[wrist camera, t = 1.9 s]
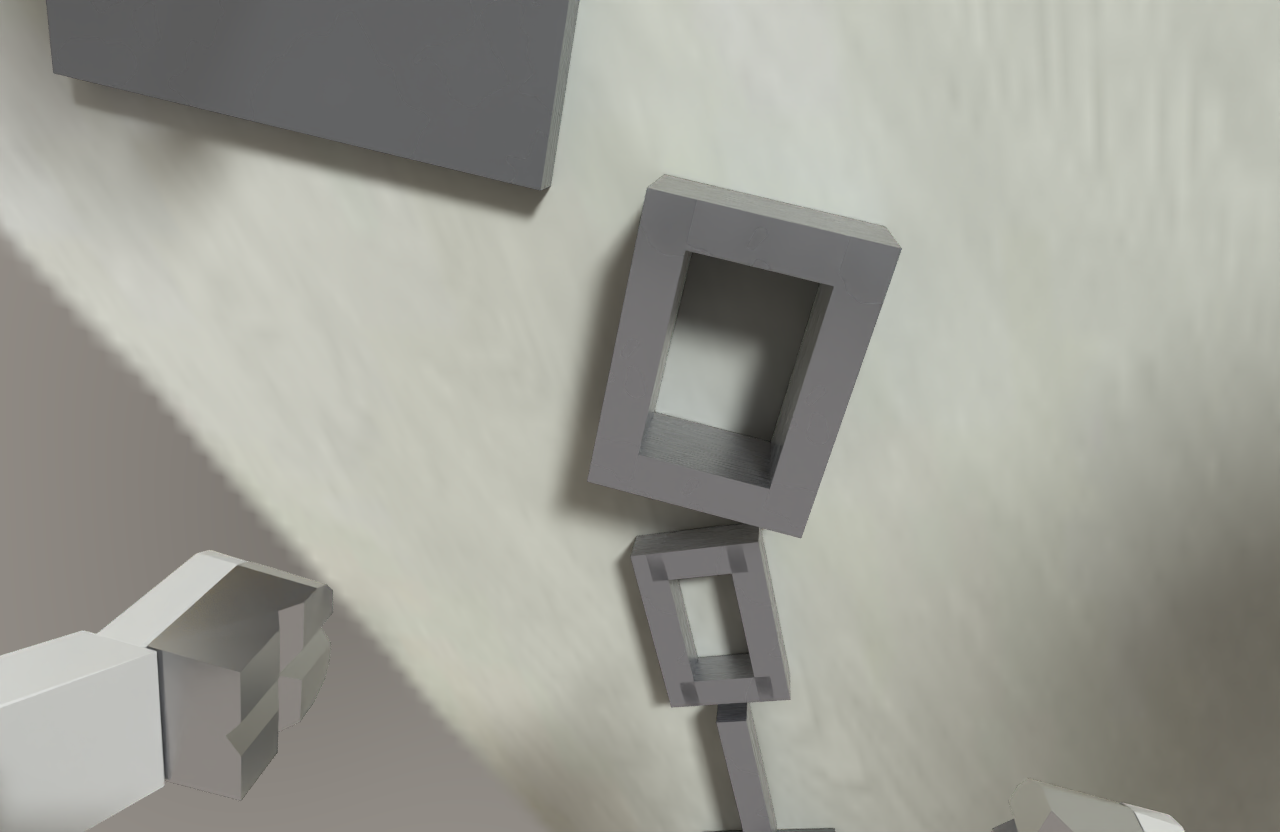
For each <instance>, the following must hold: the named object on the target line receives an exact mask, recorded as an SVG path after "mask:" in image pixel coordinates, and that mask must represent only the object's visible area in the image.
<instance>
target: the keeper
mask: <svg viewBox="0 0 1280 832" xmlns="http://www.w3.org/2000/svg"><path fill="white" fill-rule="evenodd" d="M46 4H47V14H48V24H49V34H50V44H51V54H52V64H53V73H55V74H59V75H63V76H68V77H72V78H76V79H80V80H84V81H88V82H92V83H97V84H101V85H105V86H109V87H113V88H117V89H122V90H126V91H130V92H134V93H138V94H142V95H146V96H151V97H155V98H159V99H163V100H167V101H171V102H175V103H180V104H184V105H188V106H192V107H196V108H200V109H204V110H209V111H213V112H217V113H221V114H225V115H229V116H233V117H238V118H242V119H246V120H250V121H254V122H258V123H262V124H267V125H271V126H275V127H279V128H283V129H287V130H292V131H296V132H300V133H304V134H308V135H312V136H316V137H321V138H325V139H329V140H333V141H337V142H341V143H345V144H350V145H354V146H358V147H362V148H366V149H370V150H374V151H379V152H383V153H387V154H391V155H395V156H399V157H403V158H408V159H412V160H416V161H420V162H424V163H428V164H432V165H437V166H441V167H445V168H449V169H453V170H457V171H462V172H466V173H470V174H474V175H478V176H482V177H486V178H491V179H495V180H499V181H503V182H507V183H511V184H515V185H520V186H524V187H528V188H532V189H536V190H540V191H541V190H543V189H545V188H548V187H550V186H551V181H552V175H553V168H554V162H555V155H556V149H557V142H558V136H559V129H560V123H561V116H562V110H563V103H564V97H565V90H566V83H567V77H568V70H569V64H570V57H571V51H572V44H573V38H574V31H575V25H576V18H577V12H578V5H579V0H46Z"/></svg>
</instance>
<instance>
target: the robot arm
mask: <svg viewBox="0 0 1280 832" xmlns="http://www.w3.org/2000/svg"><path fill="white" fill-rule="evenodd" d="M332 613H333V590H332V589H331V588H330V587H329V586H328V585H327V584H324V583H321V582H317V581H314V580H311V579H307V578H304V577H301V576H297V575H294V574H291V573H288V572H284V571H281V570H278V569H274V568H271V567H268V566H264V565H261V564H258V563H254V562H251V561H248V562H247V561H244V560H241V559H238V558H235V557H231V556H228V555H225V554H222V553H218V552H215V551H212V550H208V551H204V552H200V553H197V554H195V555H194V556H192V557H191V558H190V559H189V560H187V561H186V562H185V563H184V564H183V565H181V566H180V567H179V568H178V569H176V570H175V571H174V572H173V573H172V574H170V575H169V576H168V577H166V578H165V579H164V580H163V581H161V582H160V583H159V584H158V585H157V586H155V587H154V588H153V589H151V590H150V591H149V592H148V593H146V594H145V595H144V596H143V597H141V599H139V600H138V601H137V602H135V603H134V604H133V605H131V606H130V607H129V608H128V609H127V610H125V611H124V612H123V613H122V614H120V615H119V616H118V617H117V618H115V619H114V620H113V621H112V622H110V623H109V624H108V625H107V626H105V627H104V628H103V629H102V630H100V631H99V632H98V633H97V634H95V633H91V632H87V631H84V630H83V631H79V632H76V633H73V634H70V635H66V636H63V637H60V638H57V639H53V640H50V641H47V642H43V643H40V644H37V645H34V646H30V647H27V648H24V649H21V650H17V651H14V652H11V653H8V654H4V655H1V656H0V832H85V831H87V830H88V829H90V828H92V827H94V826H96V825H97V824H99V823H101V822H102V821H104V820H106V819H108V818H109V817H111V816H113V815H115V814H117V813H118V812H120V811H122V810H123V809H125V808H127V807H129V806H130V805H132V804H134V803H136V802H137V801H139V800H141V799H143V798H145V797H146V796H148V795H150V794H152V793H153V792H155V791H157V790H159V789H160V788H162V787H164V785H165V781H167V782H171V783H175V784H178V785H182V786H186V787H190V788H194V789H197V790H201V791H205V792H209V793H213V794H217V795H221V796H224V797H228V798H232V799H236V800H239V801H241V800H242V799H243V798H244V796H245V795H246V794H247V792H248V791H249V790H250V788H251V787H252V786H253V784H254V783H255V782H256V780H257V779H258V778H259V776H260V775H261V774H262V772H263V771H264V770H265V768H266V767H267V766H268V764H269V763H270V762H271V760H272V759H273V758H274V756H275V755H276V754H277V751H278V750H277V749H278V732H280V731H282V730H284V729H286V728H288V727H291V726H293V725H295V724H297V723H299V722H300V721H301V720H302V719H303V717H304V716H305V714H306V713H307V712H308V710H309V709H310V707H311V706H312V705H313V703H314V701H315V699H316V697H317V695H318V693H319V691H320V688H321V686H322V684H323V682H324V680H325V677H326V673H327V669H328V665H329V661H330V650H331V642H330V640H329V639H328V637H327V636H326V634H325V633H324V631H323V629H322V628H321V627H322V626H323V624H324V623H325V622H326V621H327V619H328V618H329V617H330V616H331V615H332ZM1008 802H1009V805H1010V808H1011V811H1012V814H1013V817H1014V819H1012V820H1010V821H1008V822H1005V823H1003V824H1001V825H999V826H997V827H995V828H993V829H992V831H991V832H1185V831H1184V829H1183V827H1182V826H1181V825H1180V824H1179V823H1178V822H1177V821H1176V820H1175V819H1174V818H1172V817H1171V816H1170V815H1169V814H1166V813H1162V812H1158V811H1154V810H1150V809H1146V808H1142V807H1138V806H1134V805H1131V804H1127V803H1123V802H1120V803H1118V802H1115V801H1112V800H1109V799H1105V798H1101V797H1098V796H1094V795H1090V794H1086V793H1083V792H1079V791H1075V790H1071V789H1068V788H1064V787H1060V786H1056V785H1053V784H1049V783H1045V782H1042V781H1038V780H1034V779H1030V778H1028V779H1026V780H1025V781H1023V782H1022V783H1020V784H1019V785H1018V786H1017V787H1016V789H1015V791H1014V792H1013V794H1012V796H1011V797H1010V799H1009V801H1008Z"/></svg>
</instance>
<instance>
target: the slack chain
mask: <svg viewBox="0 0 1280 832" xmlns="http://www.w3.org/2000/svg"><path fill="white" fill-rule="evenodd" d="M630 557H631V560H632V564H633V568H634V572H635V575H636V579H637V583H638V586H639V590H640V594H641V597H642V601H643V605H644V609H645V612H646V616H647V620H648V623H649V627H650V631H651V634H652V638H653V642H654V646H655V649H656V653H657V657H658V660H659V664H660V668H661V671H662V675H663V679H664V682H665V686H666V690H667V694H668V697H669V701H670V705H671V707H684V706H699V705H715V704H718V711H717V721H716V723H717V727H718V731H719V735H720V740H721V744H722V748H723V752H724V756H725V760H726V764H727V768H728V772H729V776H730V780H731V784H732V788H733V792H734V796H735V800H736V804H737V808H738V812H739V816H740V820H741V824H742V828H743V831H724V832H835V829H802V830H777V822H776V818H775V813H774V809H773V805H772V800H771V796H770V791H769V787H768V782H767V778H766V774H765V769H764V765H763V760H762V756H761V751H760V747H759V743H758V738H757V734H756V729H755V725H754V720H753V716H752V712H751V707H750V703H749V702H762V701H777V700H790V672H789V667H788V662H787V657H786V652H785V647H784V642H783V637H782V632H781V627H780V622H779V617H778V612H777V607H776V602H775V597H774V592H773V587H772V582H771V577H770V572H769V567H768V562H767V557H766V552H765V547H764V542H763V537H762V532H761V528H760V527H757V526H753V525H749V524H745V523H744V524H735V525H727V526H718V527H710V528H702V529H693V530H685V531H676V532H668V533H659V534H651V535H642V536H637V537H636V540H635V543H634V546H633V550H632V553H631V556H630ZM723 574H732V577H733V582H734V587H735V591H736V596H737V600H738V605H739V609H740V614H741V618H742V623H743V627H744V632H745V637H746V641H747V646H748V650H749V654H736V655H724V656H711V657H697V653H696V649H695V645H694V641H693V637H692V633H691V629H690V625H689V621H688V617H687V613H686V609H685V605H684V601H683V597H682V593H681V589H680V585H679V581H678V579H684V578H694V577H703V576H713V575H723Z"/></svg>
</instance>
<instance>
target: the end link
mask: <svg viewBox="0 0 1280 832" xmlns="http://www.w3.org/2000/svg"><path fill="white" fill-rule="evenodd" d="M901 250H902V248H901V247H900V245H899V244H898V243H897V241H896V240H895V239H894V237H893V236H892V235H891V233H890V232H889V231H888V229H887V228H886V227H885V226H881V225H876V224H872V223H868V222H864V221H859V220H855V219H851V218H847V217H843V216H838V215H834V214H830V213H826V212H822V211H817V210H813V209H809V208H805V207H800V206H796V205H792V204H788V203H784V202H779V201H775V200H771V199H767V198H762V197H758V196H754V195H750V194H746V193H741V192H737V191H733V190H729V189H725V188H720V187H716V186H712V185H708V184H703V183H699V182H695V181H691V180H687V179H682V178H678V177H674V176H670V175H665V174H664V175H663V176H661V177H660V178H659V179H657V180H656V181H655V182H654V183H652V184H651V185H650V186H649V187H647V190H646V195H645V200H644V205H643V210H642V215H641V220H640V225H639V230H638V234H637V239H636V244H635V249H634V254H633V259H632V264H631V269H630V274H629V279H628V284H627V288H626V293H625V298H624V303H623V308H622V313H621V318H620V323H619V328H618V333H617V338H616V342H615V347H614V352H613V357H612V362H611V367H610V372H609V377H608V382H607V387H606V392H605V396H604V401H603V406H602V411H601V416H600V421H599V426H598V431H597V436H596V441H595V445H594V450H593V455H592V460H591V465H590V470H589V475H588V480H587V482H591V483H595V484H598V485H602V486H606V487H610V488H614V489H617V490H621V491H625V492H629V493H632V494H636V495H640V496H644V497H647V498H651V499H655V500H659V501H663V502H666V503H670V504H674V505H678V506H681V507H685V508H689V509H693V510H696V511H700V512H704V513H708V514H712V515H715V516H719V517H723V518H727V519H730V520H734V521H738V522H742V523H745V524H749V525H753V526H757V527H760V528H764V529H768V530H772V531H776V532H779V533H783V534H787V535H791V536H794V537H798V538H801V537H802V535H803V532H804V529H805V526H806V523H807V520H808V517H809V514H810V512H811V509H812V506H813V503H814V500H815V497H816V494H817V491H818V488H819V486H820V483H821V480H822V477H823V474H824V471H825V468H826V465H827V463H828V460H829V457H830V454H831V451H832V448H833V445H834V442H835V440H836V437H837V434H838V431H839V428H840V425H841V422H842V419H843V417H844V414H845V411H846V408H847V405H848V402H849V399H850V396H851V394H852V391H853V388H854V385H855V382H856V379H857V376H858V373H859V371H860V368H861V365H862V362H863V359H864V356H865V353H866V350H867V347H868V345H869V342H870V339H871V336H872V333H873V330H874V327H875V324H876V322H877V319H878V316H879V313H880V310H881V307H882V304H883V301H884V299H885V296H886V293H887V290H888V287H889V284H890V281H891V278H892V276H893V273H894V270H895V267H896V264H897V261H898V258H899V255H900V253H901ZM692 252H695V253H699V254H703V255H707V256H711V257H715V258H719V259H723V260H728V261H732V262H736V263H740V264H744V265H748V266H752V267H756V268H760V269H765V270H769V271H773V272H777V273H781V274H785V275H789V276H793V277H797V278H802V279H806V280H810V281H814V282H818V283H820V284H819V288H818V291H817V294H816V297H815V301H814V304H813V307H812V310H811V314H810V317H809V320H808V323H807V327H806V330H805V333H804V336H803V339H802V343H801V346H800V349H799V352H798V356H797V359H796V362H795V365H794V369H793V372H792V375H791V378H790V382H789V385H788V388H787V391H786V394H785V398H784V401H783V404H782V407H781V411H780V414H779V417H778V420H777V424H776V427H775V430H774V433H773V437H772V440H771V442H769V441H765V440H761V439H757V438H754V437H750V436H746V435H742V434H738V433H734V432H730V431H726V430H722V429H719V428H715V427H711V426H707V425H703V424H699V423H695V422H691V421H688V420H684V419H680V418H676V417H672V416H668V415H664V414H660V413H657V412H654V411H655V407H656V403H657V399H658V394H659V390H660V386H661V382H662V377H663V373H664V369H665V365H666V360H667V356H668V352H669V348H670V343H671V339H672V335H673V331H674V326H675V322H676V318H677V313H678V309H679V305H680V301H681V296H682V292H683V288H684V284H685V279H686V275H687V271H688V267H689V262H690V258H691V254H692Z"/></svg>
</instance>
